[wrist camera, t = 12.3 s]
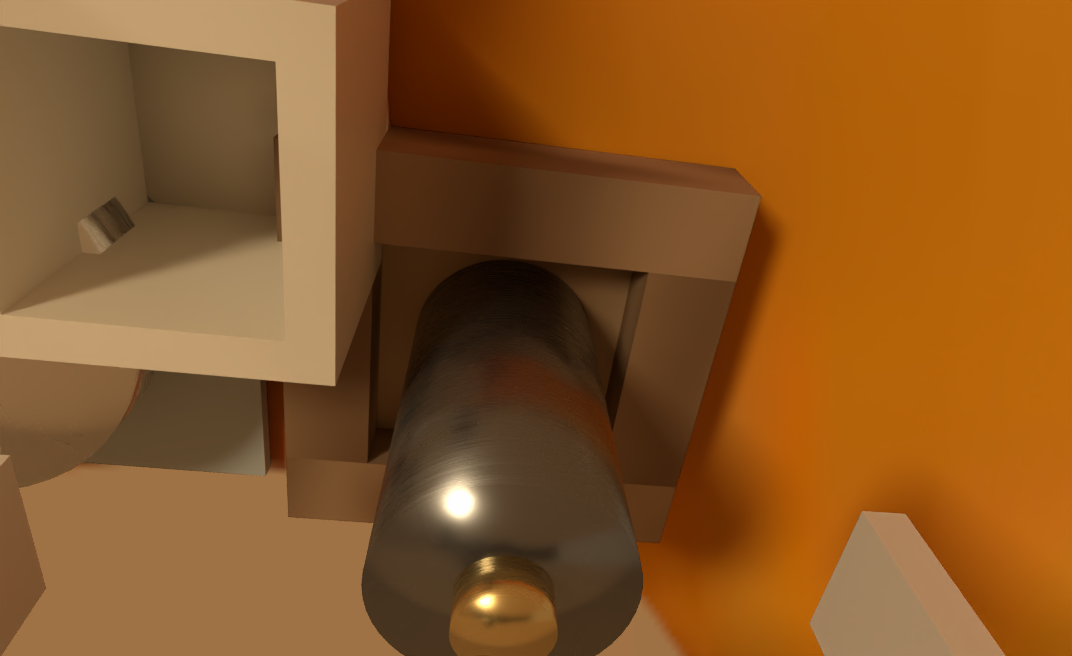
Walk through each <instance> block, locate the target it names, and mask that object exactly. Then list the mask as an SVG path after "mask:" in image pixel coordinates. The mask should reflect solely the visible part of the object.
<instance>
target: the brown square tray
mask: <svg viewBox="0 0 1072 656" xmlns="http://www.w3.org/2000/svg"><path fill="white" fill-rule="evenodd" d="M273 142H274V167H275V192H276V218H277V241H279V242H282V225H281V197H280V170H279V142H278V134H277V135H276V136H275V137H273ZM760 199H761V195H760V194H759V193H758V192H757V191H756V190H755V189H754V188H753V187H752V186H751V185H750V184H749V183H748V182H747V181H746V180H745V179H744V178H743V177H742V176H741V175H740V174H739V173H738V172H737V170H736V169H733V168H725V167H717V166H709V165H701V164H693V163H685V162H677V161H669V160H660V159H652V158H644V157H636V156H628V155H620V154H612V153H604V152H596V151H588V150H580V149H572V148H563V147H555V146H547V145H539V144H531V143H523V142H515V141H507V140H499V139H491V138H483V137H475V136H467V135H458V134H450V133H442V132H434V131H426V130H418V129H410V128H402V127H394V126H390V127H389V129H388V130H387V132H386V134H385V136H384V137H383V139H382V141H381V143H380V144H379V146H378V148H377V150H376V176H375V212H374V243H379V244H382V260H381V263H380V266H379V269H378V271H377V274H376V277H375V279H374V282H373V285H372V288H371V290H370V293H369V296H368V299H367V301H366V304H365V307H364V309H363V312H362V315H361V318H360V320H359V323H358V326H357V328H356V331H355V334H354V337H353V339H352V342H351V345H350V347H349V350H348V353H347V356H346V358H345V361H344V364H343V366H342V369H341V372H340V375H339V377H338V380H337V383H336V385H335V386H327V385H316V384H304V383H293V382H283V394H284V419H285V444H286V470H287V494H288V517H295V518H310V519H324V520H338V521H353V522H367V523H374V519H375V514H376V510H377V505H378V500H379V496H380V491H381V487H382V482H383V477H384V473H385V468H386V464H387V459H388V455H389V450H390V445H391V441H392V436H393V432H394V427H395V423H396V418H397V413H398V409H399V404H400V400H401V395H402V390H403V386H404V381H405V377H406V372H407V368H408V363H409V358H410V354H411V349H412V345H413V340H414V336H415V331H416V326H417V322H418V318H419V315H420V312H421V309H422V307H423V305H424V303H425V301H426V300H427V298H428V297H429V295H430V294H431V292H432V291H433V290H434V289H435V288H436V287H437V286H438V285H439V284H440V283H441V282H442V281H443V280H445V279H446V278H447V277H449V276H450V275H452V274H453V273H455V272H457V271H459V270H461V269H463V268H465V267H467V266H470V265H473V264H476V263H480V262H485V261H492V260H515V261H521V262H526V263H530V264H533V265H536V266H539V267H541V268H543V269H546V270H548V271H549V272H551V273H553V274H554V275H556V276H558V277H559V278H560V279H561V280H563V281H564V282H565V283H566V284H567V285H568V286H569V287H570V288H571V289H572V290H573V291H574V292H575V294H576V295H577V297H578V298H579V299H580V301H581V303H582V305H583V307H584V309H585V312H586V315H587V318H588V322H589V327H590V331H591V336H592V341H593V345H594V350H595V354H596V359H597V364H598V368H599V373H600V378H601V382H602V387H603V391H604V396H605V401H606V405H607V410H608V415H609V419H610V424H611V428H612V433H613V438H614V442H615V447H616V452H617V456H618V461H619V465H620V470H621V475H622V479H623V484H624V489H625V493H626V498H627V502H628V507H629V512H630V516H631V521H632V526H633V530H634V535H635V539H636V541H637V542H651V543H660V540H661V537H662V533H663V530H664V526H665V523H666V520H667V516H668V513H669V509H670V506H671V503H672V499H673V496H674V492H675V489H676V486H677V482H678V479H679V475H680V472H681V469H682V465H683V462H684V458H685V455H686V452H687V448H688V445H689V441H690V438H691V434H692V431H693V428H694V424H695V421H696V417H697V414H698V411H699V407H700V404H701V400H702V397H703V394H704V390H705V387H706V383H707V380H708V377H709V373H710V370H711V366H712V363H713V359H714V356H715V353H716V349H717V346H718V342H719V339H720V336H721V332H722V329H723V325H724V322H725V319H726V315H727V312H728V308H729V305H730V302H731V298H732V295H733V291H734V288H735V285H736V281H737V278H738V274H739V271H740V267H741V264H742V261H743V257H744V254H745V250H746V247H747V244H748V240H749V237H750V233H751V230H752V227H753V223H754V220H755V216H756V213H757V210H758V206H759V203H760Z"/></svg>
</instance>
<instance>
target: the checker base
mask: <svg viewBox="0 0 1072 656" xmlns="http://www.w3.org/2000/svg"><path fill="white" fill-rule="evenodd" d="M147 199H148V202H152V203H155V202H154V201H153V200H152V199H151V198H150V197H149V196H148V195H147ZM83 462H84V463H98V464H111V465H124V466H139V467H151V468H164V469H177V470H190V471H204V472H218V473H230V474H243V475H257V476H266V474H267V472H268V470H269V467H270V465H271V460H270V441H269V422H268V403H267V384H266V380H259V379H248V378H236V377H225V376H214V375H202V374H191V373H180V372H168V371H157V370H156V372H155V374H154V376H153V378H152V380H151V382H150V384H149V386H148V388H147V389H146V390H145V392H144V393H143V394H142V396H141V397H140V398H139V400H138V401H137V402H136V404H135V405H134V406H133V408H132V409H131V410H130V411H129V413H128V414H127V415H126V417H125V418H124V419H123V421H122V422H121V423H120V424H119V426H118V427H117V428H116V430H115V431H114V432H113V433H112V435H111V436H110V437H109V439H108V440H107V441H106V442H105V443H104V444H103V445H102V446H101V447H100V448H99V449H98V450H97V451H96V452H95V453H94V454H93V455H92V456H91V457H89V458H88V459H86V460H85V461H83Z"/></svg>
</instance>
